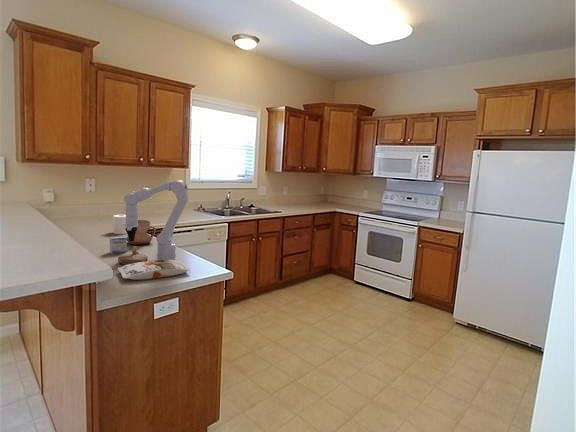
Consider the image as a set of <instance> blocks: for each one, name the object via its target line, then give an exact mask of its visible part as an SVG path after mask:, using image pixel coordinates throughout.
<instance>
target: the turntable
mask: <svg viewBox="0 0 576 432" xmlns="http://www.w3.org/2000/svg"><path fill="white" fill-rule="evenodd" d="M131 249H132V250H131V252H132V253H127V254H126V253H125V254H122V255H120V256H118V257H117V262H118V263H120V264H123V265H126V264H133V263H138V262H145V261H149V258H148V257H149V256H148V255H146V254H142V253H139V254H136V251H137V246H132V248H131Z"/></svg>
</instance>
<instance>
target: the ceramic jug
mask: <svg viewBox="0 0 576 432" xmlns="http://www.w3.org/2000/svg"><path fill="white" fill-rule="evenodd" d="M136 227H138V229H137V231H136V234H135V239H134V241H129V238H128V236H127V237H126V242H127V243H129V244H132V245H137V246H140V245H141V246H142V245H146V244H149V243H151V242H152V240H153V237H154V236H155V233H156V230H157V229H156V227H155V226H154V225H151V221H150V220H148V219H147V220H146V219H138V226H136ZM125 228H127V227H126V226H125ZM149 229H153V230H152V233H151V235H150V234H148V230H149Z"/></svg>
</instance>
